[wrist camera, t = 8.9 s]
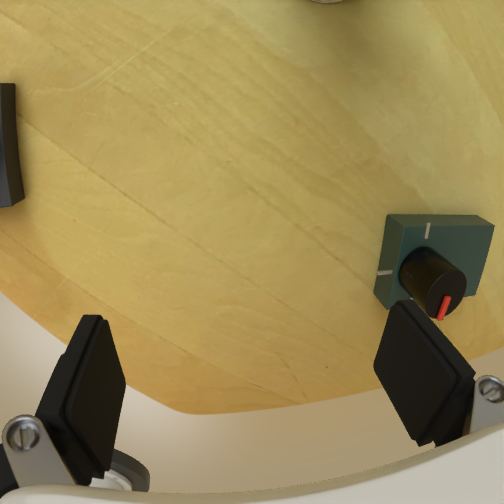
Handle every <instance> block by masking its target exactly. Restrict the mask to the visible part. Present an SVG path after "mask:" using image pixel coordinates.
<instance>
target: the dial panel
mask: <svg viewBox="0 0 504 504" xmlns="http://www.w3.org/2000/svg"><path fill="white" fill-rule="evenodd" d="M494 227H495V225H493V224H491V223H490V222H488V221H486V220H484V219H483V218H481V217H479V216H477V215H403V214H395V215H387V218H386V225H385V231H384V238H383V244H382V250H381V256H380V262H379V267H378V272H377V278H376V283H375V288H374V294H375V296H376V297H377V298H378V299H379V301H380V302H381V303H382V305H383V306H384V307H385V308H386V310H389V309H390V308H391V307H392V306H393V305H394V304H395V302H396V301H398V300H407V299H412V300H413V298H412V297H411V296H410V295H409V294H408V293H407V292H406V291H405V290H404V289H403V288H402V286H401V285H400V283H399V277H398V275H399V269H400V266H401V264H402V262H403V260H404V259H405V258H406V256H407V255H408V254H409V253H410V252H412V251H413V250H414V249H416V248H419V247H422V246H427V247H431V248H432V249H434V250H435V251H436V252H438V253H439V254H440V255H442V256H443V257H444V258H445V259H447V260H448V261H449V262H451V263H452V264H453V265H454V266H456V267H457V268H458V269H459V270H461V271H462V272H463V273H464V274H465V276H466V279H467V287H466V291H465V294H464V297H467V296H472V295H475V294H476V291H477V288H478V285H479V282H480V279H481V275H482V272H483V269H484V265H485V262H486V258H487V255H488V251H489V247H490V243H491V239H492V235H493V231H494ZM417 305H418V304H417Z"/></svg>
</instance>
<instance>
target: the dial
mask: <svg viewBox="0 0 504 504" xmlns="http://www.w3.org/2000/svg"><path fill="white" fill-rule="evenodd" d="M398 277H399V283H400V285H401V286H402V288H403V289H404V290H405V291H406V292H407V293H408V294H409V295H410V296H411V297H412V298H413V300H414V301H415V302H416V303H417V304H418V305H419V306H420V307H421V308H422V309H423V311H424V312H425V313H426V314H427V315H428V316H429V317H431V318H437V320H438V321H439V320H443V318H444V316H446V315H448V314H449V313H451V312H452V311H453V310H454V309H455V308H456V307H457V306H458V305H459V303H460V302H461V300H462V299H463V297H464V294H465V291H466V287H467V279H466V276H465V274H464V273H463V272H462V271H461V270H459V269H458V268H457V267H456V266H454V265H453V264H452V263H451V262H449V261H448V260H447V259H445V258H444V257H443V256H442V255H440V254H439V253H438V252H436V251H435V250H434V249H432V248H431V247H427V246H422V247H419V248H416V249H414V250H413V251H412V252H410V253H409V254H408V255H407V256H406V258H405V259H404V260H403V262H402V264H401V266H400V269H399V275H398Z"/></svg>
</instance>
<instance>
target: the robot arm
mask: <svg viewBox="0 0 504 504" xmlns="http://www.w3.org/2000/svg"><path fill="white" fill-rule="evenodd" d="M374 371H375V373H376V375H377V377H378V378H379V380H380V382H381V384H382V386H383V387H384V389H385V391H386V393H387V394H388V396H389V398H390V400H391V402H392V404H393V406H394V407H395V409H396V411H397V413H398V415H399V417H400V418H401V420H402V422H403V424H404V426H405V428H406V430H407V432H408V434H409V436H410V437H411V439H412V440H416V442H417V444H418V446H419V447H420V446H423V445H426V444H429V443H431V442H432V441H434V443H435V448H434V449H431V450H429V451H426V452H423V453H421V454H418V455H415V456H412V457H409V458H406V459H403V460H400V461H398V462H394V463H391V464H388V465H385V466H382V467H378V468H375V469H371V470H367V471H363V472H360V473H355V474H351V475H348V476H343V477H339V478H334V479H329V480H325V481H319V482H314V483H309V484H303V485H297V486H290V487H283V488H276V489H267V490H257V491H247V492H232V493H209V494H180V493H179V494H178V493H153V492H137V491H132V484H131V482H130V481H129V480H128V479H127V478H126V477H125V476H123V475H122V474H120V473H118V472H116V471H114V470H112V469H110V468H111V462H112V456H113V450H114V444H115V439H116V433H117V428H118V423H119V417H120V412H121V408H122V402H123V398H124V393H125V388H126V382H125V377H124V374H123V371H122V368H121V365H120V361H119V358H118V355H117V351H116V348H115V345H114V341H113V338H112V334H111V330H110V327H109V323H108V321H107V320H105V319H103V317H102V316H101V315H83V317H82V318H81V320H80V322H79V324H78V326H77V328H76V330H75V332H74V334H73V336H72V338H71V340H70V343H69V345H68V347H67V349H66V351H65V353H64V354H62V355H61V356H60V358H59V360H58V362H57V364H56V366H55V369H54V371H53V373H52V376H51V378H50V380H49V382H48V385H47V387H46V389H45V392H44V394H43V396H42V399H41V401H40V404H39V406H38V409H37V411H36V413H35V416H32V415H19V416H16V417H14V418H13V419H11V420H10V421H9V422H8V423H7V424H6V425H5V427H4V429H3V431H2V444H0V504H504V382H503V381H502V380H500V379H499V378H497V377H494V376H491V375H484V376H481V377H479V378H478V379H477V380H476V381H475V380H474V379H473V377H474V375H475V373H476V372H475V371H474V370H473V369H472V367H471V366H470V365H469V364H468V363H467V361H466V360H465V359H464V357H463V356H462V355H461V354H460V353H459V351H458V350H457V349H456V348H455V347H454V346H453V344H452V343H451V342H450V341H449V340H448V338H447V337H446V336H445V335H444V334H443V333H442V332H441V330H440V329H439V328H438V327H437V326H436V325H435V324H434V322H433V321H432V320H431V319H430V318H429V317H428V316H427V315H426V313H425V312H424V311H423V310H422V309H421V308H420V307H419V306H418V305H417V303H416V302H415V301H414V300H412V299H407V300H398V301H396V302H395V304H394V305H393V306H392V307H391V308H390V312H389V315H388V319H387V322H386V325H385V329H384V332H383V335H382V339H381V342H380V345H379V348H378V351H377V354H376V357H375V360H374Z"/></svg>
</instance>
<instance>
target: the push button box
mask: <svg viewBox="0 0 504 504" xmlns="http://www.w3.org/2000/svg"><path fill="white" fill-rule="evenodd" d="M24 198H25V197H24V191H23V185H22V178H21V171H20V163H19V154H18V144H17V132H16V115H15V84H14V83H0V208H3V207H9V206H13V205H15V204H16V203H18V202H20V201H21V200H23V199H24Z"/></svg>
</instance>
